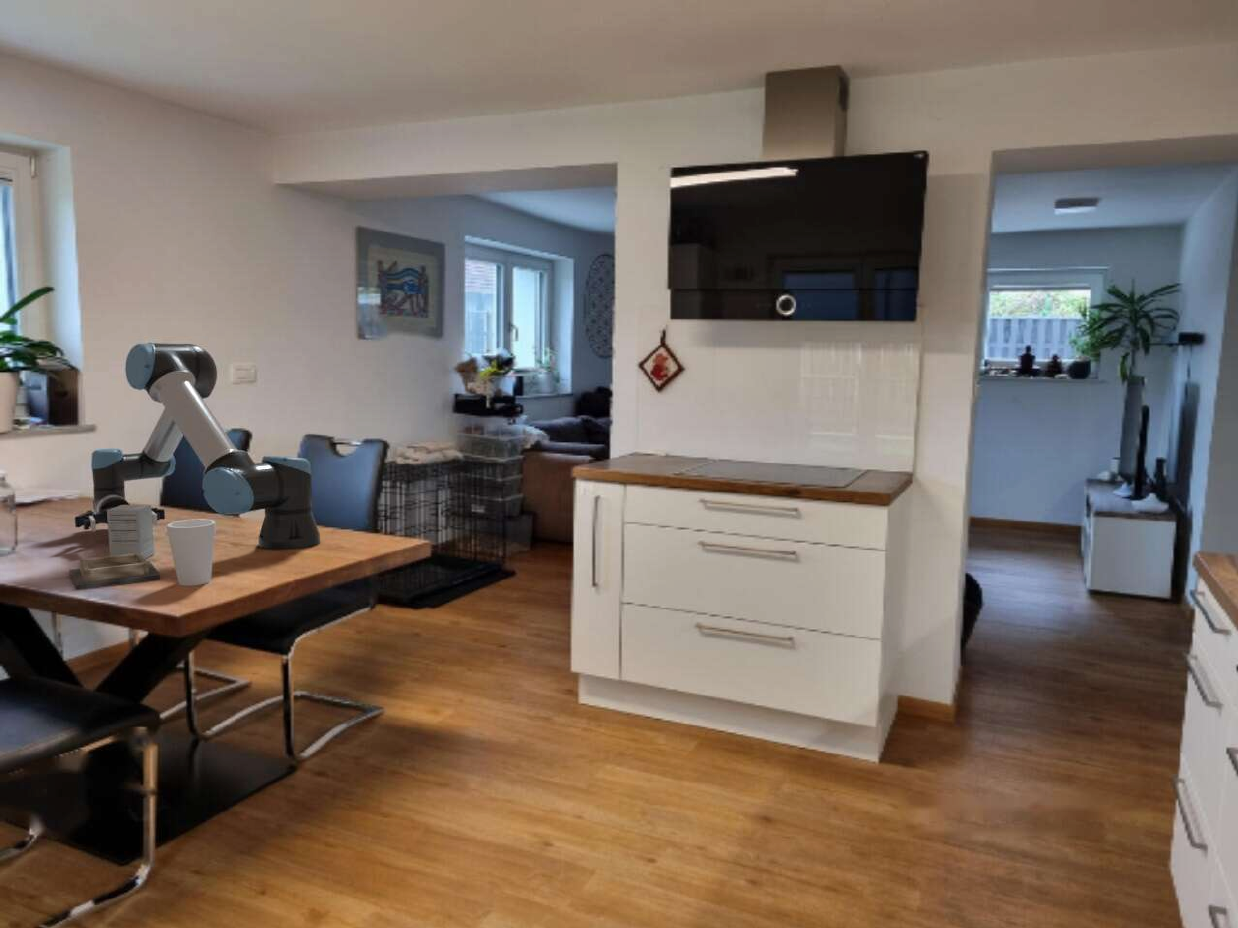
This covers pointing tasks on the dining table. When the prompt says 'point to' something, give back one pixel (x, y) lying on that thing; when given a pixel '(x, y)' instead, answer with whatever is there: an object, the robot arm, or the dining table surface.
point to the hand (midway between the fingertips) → (125, 522)
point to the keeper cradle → (113, 571)
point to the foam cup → (192, 550)
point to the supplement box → (130, 530)
